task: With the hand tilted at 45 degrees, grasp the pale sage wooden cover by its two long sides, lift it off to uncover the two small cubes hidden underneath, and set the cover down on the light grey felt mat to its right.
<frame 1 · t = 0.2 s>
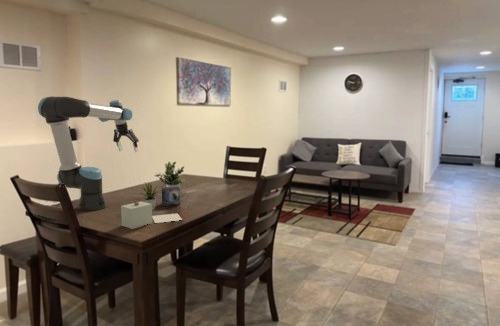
hand: (128, 151, 258), 28 cm above the table, tool tilted 20°, fingers open, 13 cm apart
house plant: (148, 209, 211), on the table
small box: (170, 204, 221), on the table
cube b: (132, 226, 180), on the table
mat: (166, 218, 192), on the table
cube a: (141, 223, 184), on the table
cover: (137, 224, 182), on the table
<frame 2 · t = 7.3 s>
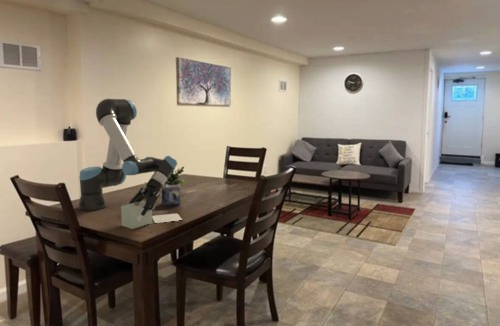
hand: (131, 218, 179), 4 cm above the table, tool tilted 45°, fingers closed on cover, 8 cm apart
cover: (137, 224, 182), on the table, touching gripper
everything else where it was.
when the fingers open (6 cm above the table, at t = 12.7 s): cover drops 2 cm, resting on mat.
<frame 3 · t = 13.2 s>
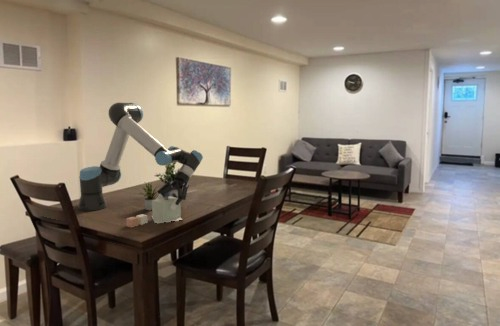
hand: (163, 207, 189), 7 cm above the table, tool tilted 45°, fingers open, 13 cm apart
cover: (166, 217, 192), resting on mat
everything else where it was.
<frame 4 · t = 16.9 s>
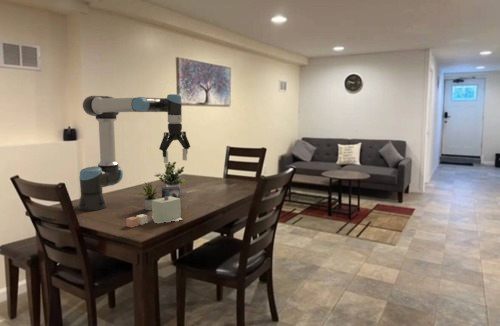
hand: (175, 161, 201), 29 cm above the table, tool pointing down, fingers open, 13 cm apart
nothing on the table moved.
at the end: cover inside the target area on the mat (0.0 cm from its centre), point 0.4 cm above the mat's base; cover tilted 0°; cover moved 16.2 cm from its start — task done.
